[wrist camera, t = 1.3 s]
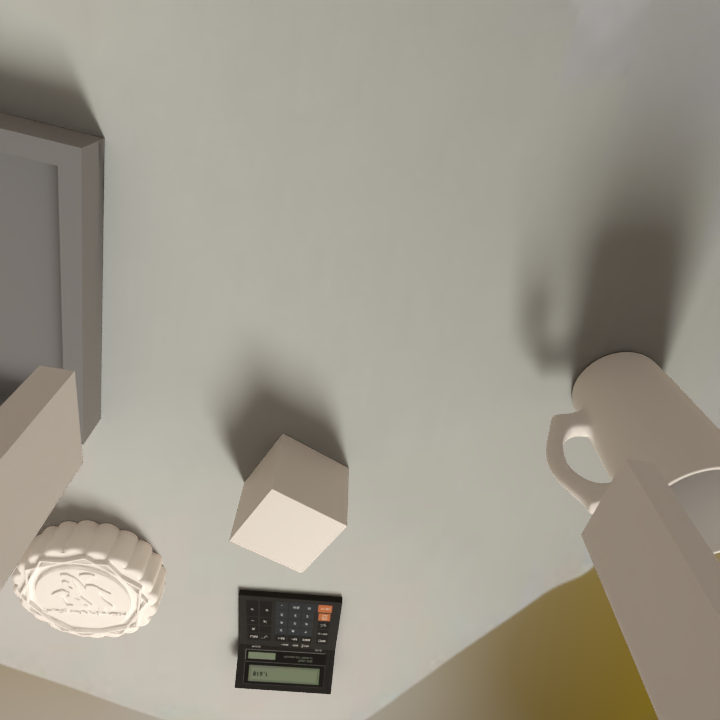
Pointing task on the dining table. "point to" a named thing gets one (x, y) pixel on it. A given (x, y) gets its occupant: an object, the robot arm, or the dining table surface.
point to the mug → (641, 436)
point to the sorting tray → (51, 258)
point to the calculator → (287, 641)
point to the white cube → (292, 505)
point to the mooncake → (90, 579)
